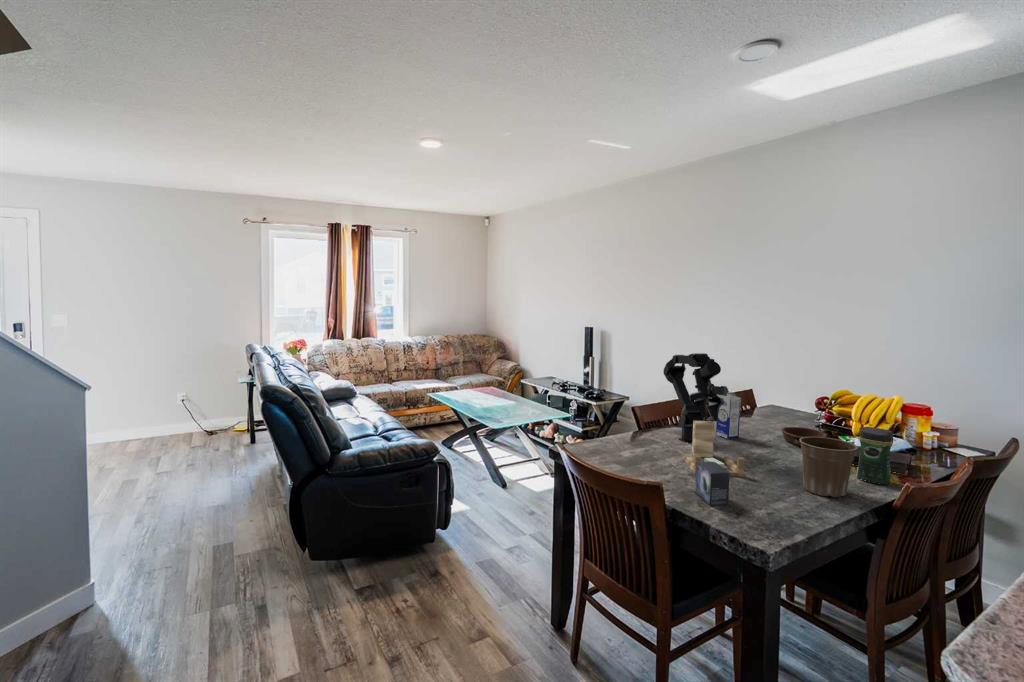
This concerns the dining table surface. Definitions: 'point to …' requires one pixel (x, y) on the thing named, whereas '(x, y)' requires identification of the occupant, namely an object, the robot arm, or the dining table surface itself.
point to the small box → (712, 483)
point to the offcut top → (715, 461)
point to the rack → (737, 469)
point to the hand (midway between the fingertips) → (711, 419)
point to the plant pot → (826, 465)
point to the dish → (799, 434)
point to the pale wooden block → (703, 438)
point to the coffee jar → (875, 455)
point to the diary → (891, 461)
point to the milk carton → (729, 416)
